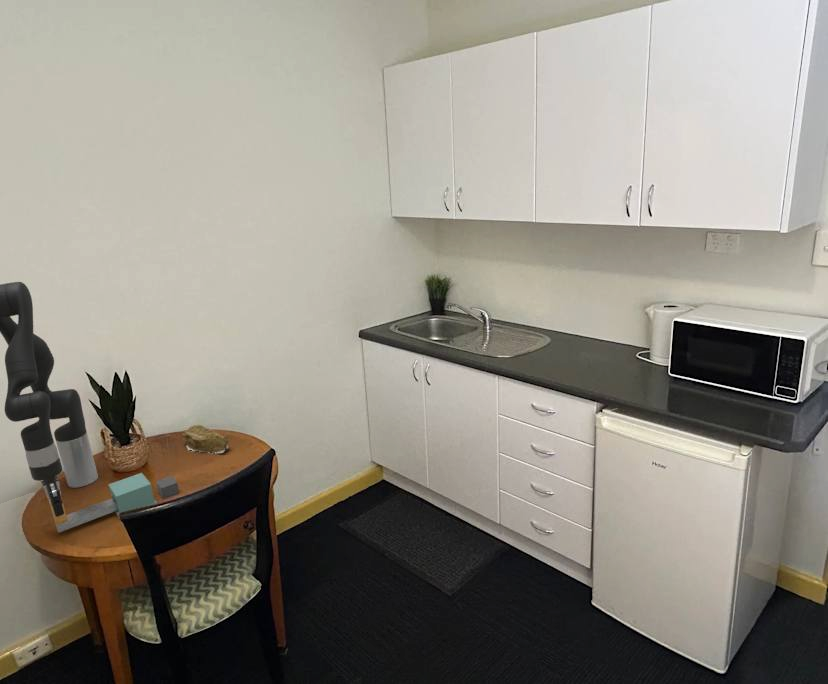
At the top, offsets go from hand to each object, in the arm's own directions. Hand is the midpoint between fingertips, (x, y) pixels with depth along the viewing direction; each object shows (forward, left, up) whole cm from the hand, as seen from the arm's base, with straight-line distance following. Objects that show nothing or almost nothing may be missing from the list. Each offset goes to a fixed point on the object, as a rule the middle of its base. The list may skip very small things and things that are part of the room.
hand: (58, 512), depth 169 cm
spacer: (0, +28, -5) cm, 28 cm away
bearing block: (0, +19, -7) cm, 21 cm away
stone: (-23, +51, -7) cm, 57 cm away
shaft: (0, +9, -5) cm, 11 cm away
